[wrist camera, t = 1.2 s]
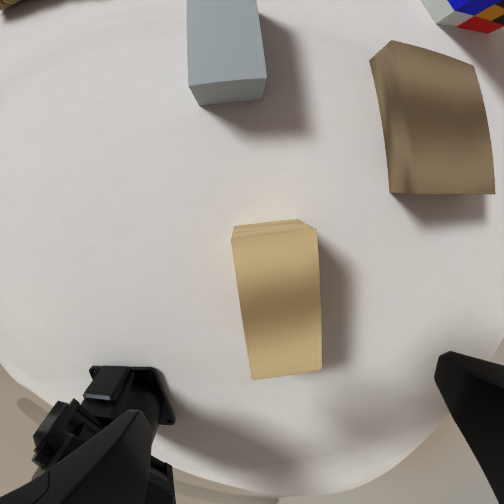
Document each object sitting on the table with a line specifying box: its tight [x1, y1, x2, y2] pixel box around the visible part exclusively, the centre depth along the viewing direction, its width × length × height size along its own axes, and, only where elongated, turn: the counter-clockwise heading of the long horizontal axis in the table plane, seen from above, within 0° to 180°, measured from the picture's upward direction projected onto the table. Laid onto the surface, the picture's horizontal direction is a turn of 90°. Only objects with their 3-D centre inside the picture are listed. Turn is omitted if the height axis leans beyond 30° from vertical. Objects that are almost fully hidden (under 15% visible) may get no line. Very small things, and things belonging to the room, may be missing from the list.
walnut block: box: [369, 40, 495, 195], centre depth 15 cm, size 10×8×4 cm
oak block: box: [231, 219, 322, 380], centre depth 16 cm, size 8×4×5 cm, turn 7°
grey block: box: [187, 0, 267, 106], centre depth 13 cm, size 8×4×4 cm, turn 5°
